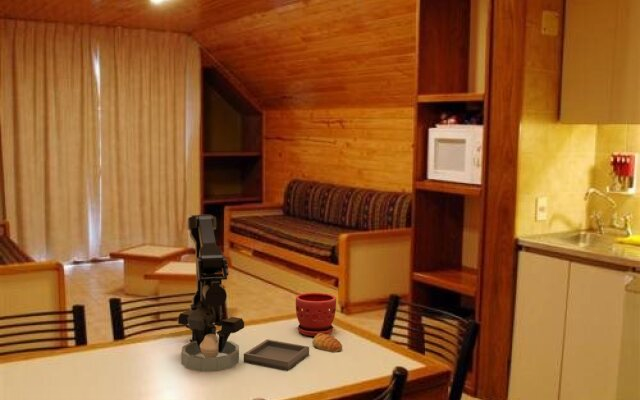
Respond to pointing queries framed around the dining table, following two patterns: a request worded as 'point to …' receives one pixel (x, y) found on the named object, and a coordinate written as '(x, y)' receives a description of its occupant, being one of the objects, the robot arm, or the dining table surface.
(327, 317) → the plant pot
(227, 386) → the dining table surface
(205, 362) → the grey polygonal ring
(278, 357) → the tray
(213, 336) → the muffin
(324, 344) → the pastry
